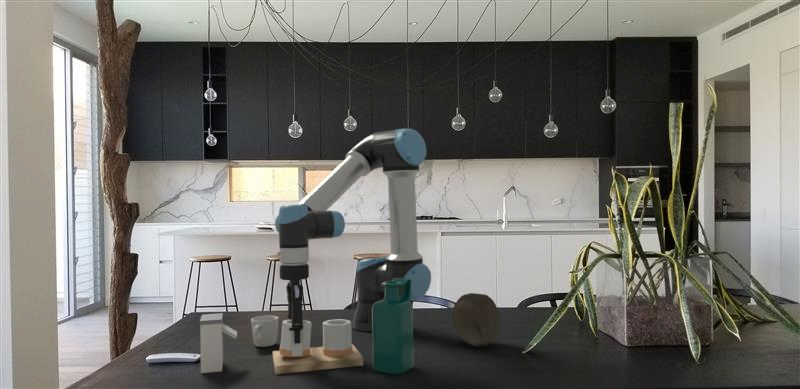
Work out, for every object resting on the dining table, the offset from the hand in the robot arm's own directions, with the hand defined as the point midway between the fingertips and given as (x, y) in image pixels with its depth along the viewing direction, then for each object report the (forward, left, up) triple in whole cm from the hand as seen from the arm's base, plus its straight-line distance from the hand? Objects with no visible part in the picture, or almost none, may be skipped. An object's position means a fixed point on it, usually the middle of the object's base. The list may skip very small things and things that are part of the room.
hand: (295, 351), depth 143 cm
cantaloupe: (-51, -1, -4) cm, 52 cm away
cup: (+8, -21, -4) cm, 23 cm away
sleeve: (0, 0, 0) cm, 1 cm away
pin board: (-5, 0, -3) cm, 6 cm away
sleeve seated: (-11, 0, -1) cm, 11 cm away
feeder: (+19, -4, -3) cm, 19 cm away
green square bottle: (-23, +12, -4) cm, 27 cm away
